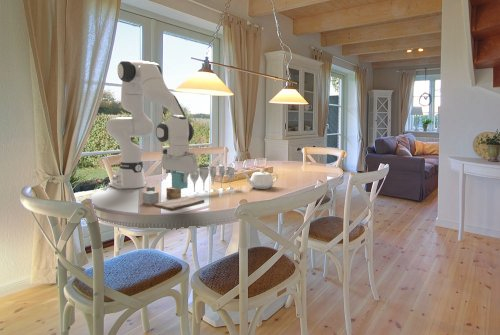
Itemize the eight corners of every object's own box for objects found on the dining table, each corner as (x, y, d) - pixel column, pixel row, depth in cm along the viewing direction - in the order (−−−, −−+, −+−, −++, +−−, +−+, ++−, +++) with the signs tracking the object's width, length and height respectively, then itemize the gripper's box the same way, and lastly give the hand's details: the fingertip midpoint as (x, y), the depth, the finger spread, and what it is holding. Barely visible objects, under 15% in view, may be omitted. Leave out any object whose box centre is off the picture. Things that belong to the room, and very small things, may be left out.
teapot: (272, 184, 213) (272, 167, 211) (282, 188, 200) (283, 170, 198) (238, 186, 204) (238, 168, 203) (247, 191, 192) (247, 172, 190)
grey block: (143, 203, 162) (142, 192, 161) (151, 201, 166) (151, 190, 165) (150, 204, 159) (149, 194, 158) (158, 202, 163) (158, 192, 162)
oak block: (166, 198, 173) (166, 188, 172) (173, 196, 177) (172, 186, 176) (174, 199, 171) (174, 189, 170) (180, 197, 175) (180, 187, 174)
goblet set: (193, 194, 181) (192, 169, 179) (187, 192, 185) (187, 168, 183) (237, 188, 198) (237, 165, 196) (231, 187, 202) (231, 164, 200)
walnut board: (154, 205, 157) (154, 203, 157) (186, 198, 173) (186, 196, 173) (172, 210, 150) (172, 208, 150) (204, 201, 166) (204, 199, 166)
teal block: (171, 187, 159) (171, 172, 158) (180, 186, 163) (179, 171, 162) (179, 189, 157) (179, 173, 156) (187, 187, 161) (187, 172, 160)
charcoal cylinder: (144, 197, 173) (144, 187, 172) (151, 195, 176) (151, 186, 175) (150, 198, 171) (149, 188, 170) (156, 197, 174) (156, 187, 173)
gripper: (200, 152, 154) (200, 182, 156) (169, 149, 166) (170, 177, 168) (190, 153, 149) (190, 184, 151) (159, 150, 161) (159, 179, 163)
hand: (179, 181), depth 160 cm, fingers closed on teal block, 5 cm apart
